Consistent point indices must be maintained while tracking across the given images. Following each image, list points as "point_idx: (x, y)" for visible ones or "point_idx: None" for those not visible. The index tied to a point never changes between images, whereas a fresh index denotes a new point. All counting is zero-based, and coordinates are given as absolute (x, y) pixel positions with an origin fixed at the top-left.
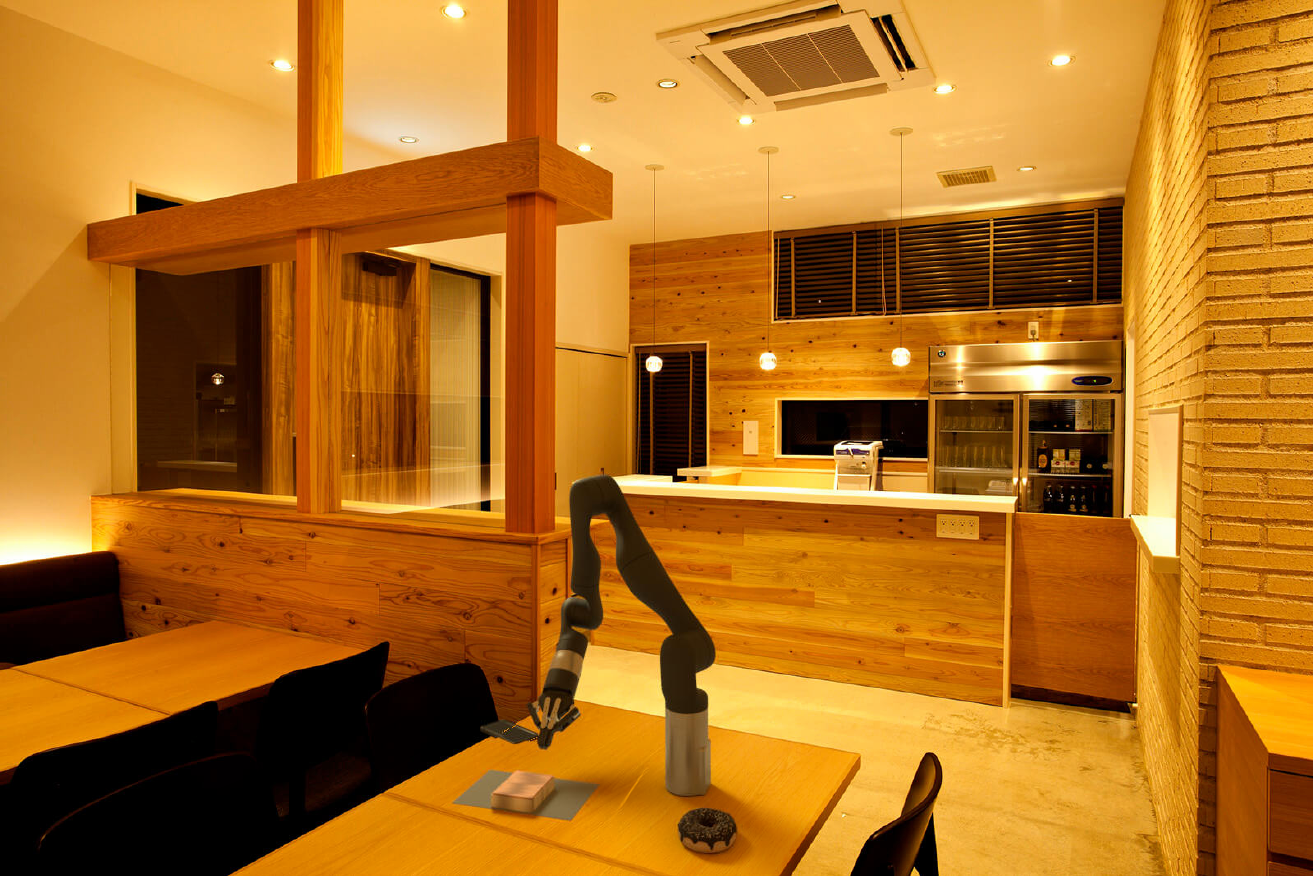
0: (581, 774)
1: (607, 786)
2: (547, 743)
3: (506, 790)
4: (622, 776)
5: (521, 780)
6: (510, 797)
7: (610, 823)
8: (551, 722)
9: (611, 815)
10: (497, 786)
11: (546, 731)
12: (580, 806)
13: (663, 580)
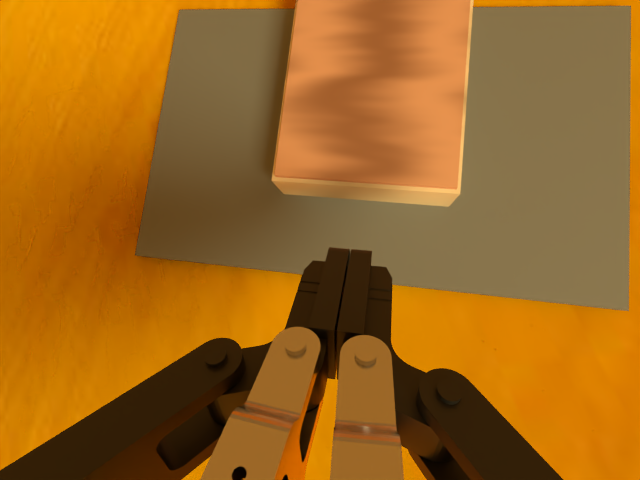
0: None
1: (115, 263)
2: (312, 263)
3: (421, 9)
4: (75, 351)
5: (393, 101)
6: None
7: (79, 44)
8: (285, 381)
9: (81, 85)
10: (512, 162)
11: (326, 314)
12: (168, 92)
13: None
